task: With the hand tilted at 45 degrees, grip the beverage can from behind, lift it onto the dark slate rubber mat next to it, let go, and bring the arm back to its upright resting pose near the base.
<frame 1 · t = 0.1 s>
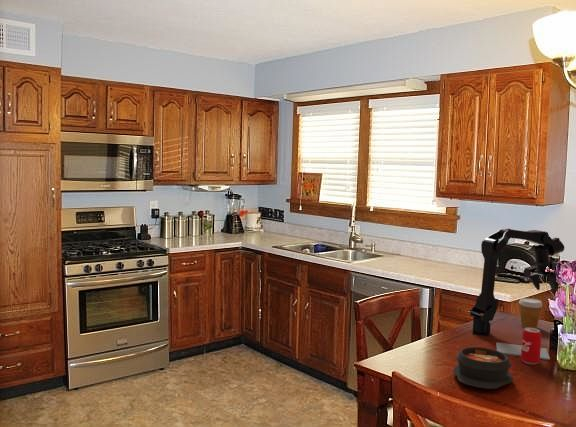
hand: (546, 292, 238), 15 cm above the table, tool pointing down, fingers open, 9 cm apart
disposable coffee cup: (528, 327, 237), on the table
beverage can: (529, 362, 193), on the table
slate mat: (522, 351, 204), on the table
casserole: (482, 380, 176), on the table
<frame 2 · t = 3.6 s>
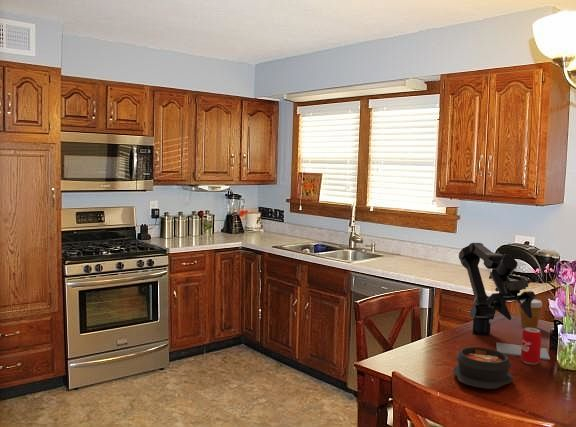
hand: (520, 318, 200), 14 cm above the table, tool tilted 45°, fingers open, 9 cm apart
nothing on the table moved.
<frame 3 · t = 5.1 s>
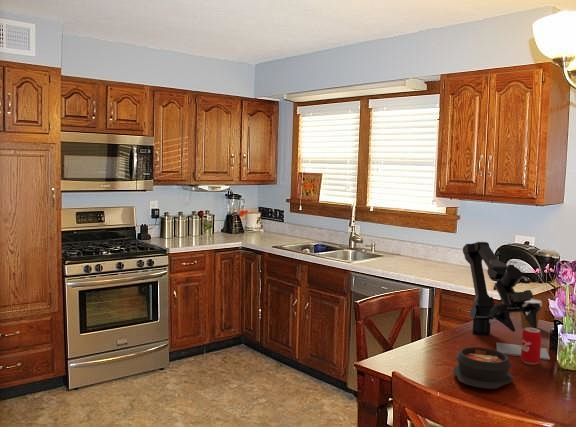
hand: (525, 330, 196), 10 cm above the table, tool tilted 45°, fingers open, 9 cm apart
nothing on the table moved.
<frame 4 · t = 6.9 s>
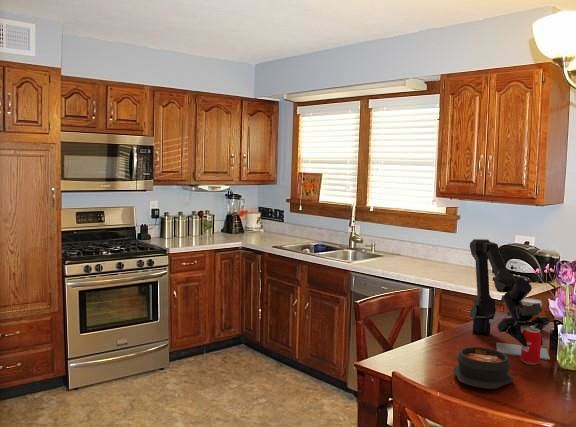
hand: (533, 345, 192), 7 cm above the table, tool tilted 45°, fingers closed on beverage can, 6 cm apart
beverage can: (529, 362, 193), on the table, touching gripper
everything else where it was.
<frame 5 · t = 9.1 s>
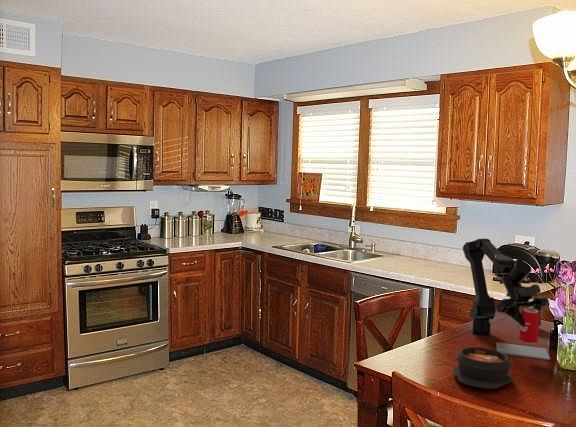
hand: (532, 325, 194), 13 cm above the table, tool tilted 45°, fingers closed on beverage can, 6 cm apart
beverage can: (527, 342, 196), point 6 cm above the table, touching gripper
everything else where it was.
when the fingers open (8 cm above the table, at t = 11.4 s): beverage can drops 1 cm, resting on slate mat.
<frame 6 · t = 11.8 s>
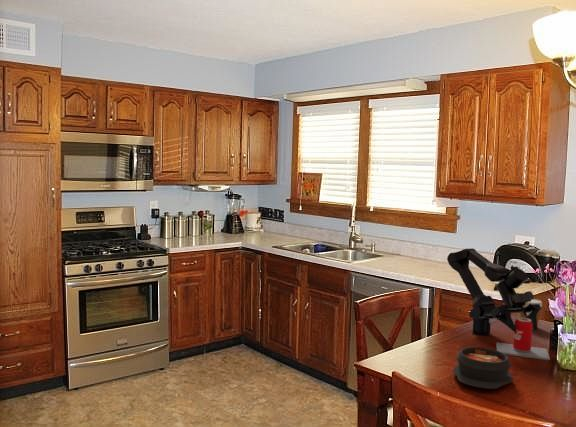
hand: (526, 330, 202), 9 cm above the table, tool tilted 45°, fingers open, 9 cm apart
beverage can: (521, 350, 205), resting on slate mat
everything else where it was.
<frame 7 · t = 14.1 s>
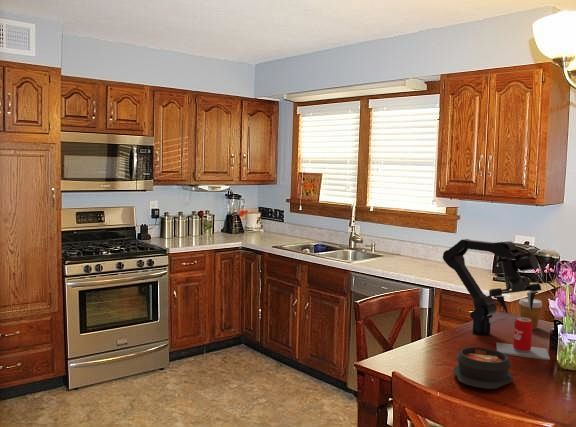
hand: (518, 312, 213), 13 cm above the table, tool tilted 15°, fingers open, 9 cm apart
nothing on the table moved.
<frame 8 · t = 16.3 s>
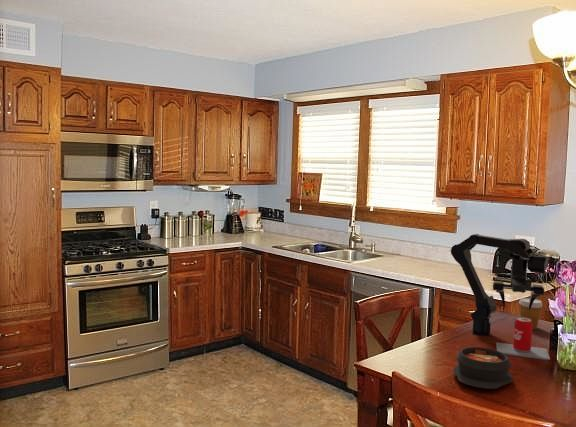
hand: (516, 308, 217), 13 cm above the table, tool pointing down, fingers open, 9 cm apart
nothing on the table moved.
at the end: beverage can inside the target area on the slate mat (0.2 cm from its centre), point 0.4 cm above the slate mat's base; beverage can tilted 0°; the gripper is holding nothing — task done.
